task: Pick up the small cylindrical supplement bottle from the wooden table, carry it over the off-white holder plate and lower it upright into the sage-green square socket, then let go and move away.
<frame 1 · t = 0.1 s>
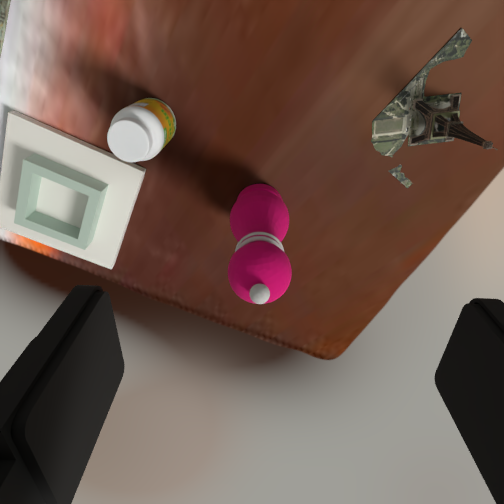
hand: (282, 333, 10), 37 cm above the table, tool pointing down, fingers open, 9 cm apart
pepper mill: (259, 205, 48), on the table
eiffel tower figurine: (429, 115, 42), on the table
supplement bottle: (154, 121, 42), on the table
cup holder: (70, 196, 47), on the table
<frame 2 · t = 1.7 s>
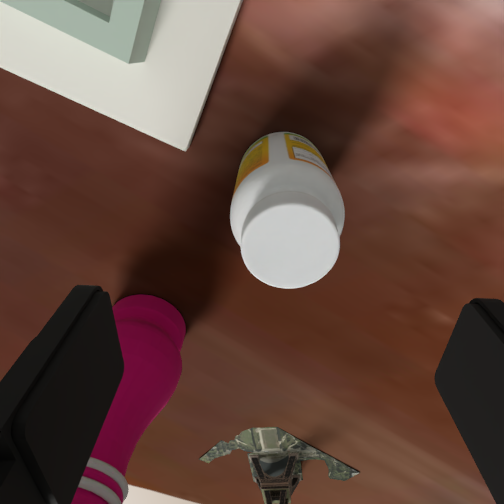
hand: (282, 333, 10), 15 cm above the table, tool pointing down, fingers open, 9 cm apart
pepper mill: (148, 322, 29), on the table
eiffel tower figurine: (279, 459, 39), on the table
supplement bottle: (281, 173, 23), on the table
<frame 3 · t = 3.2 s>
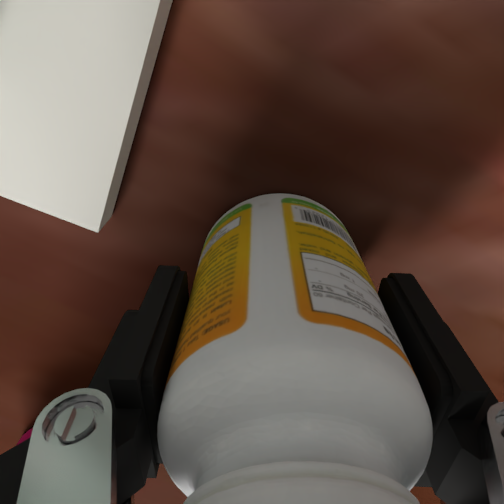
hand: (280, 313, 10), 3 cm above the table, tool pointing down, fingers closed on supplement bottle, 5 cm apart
supplement bottle: (276, 256, 13), on the table, touching gripper
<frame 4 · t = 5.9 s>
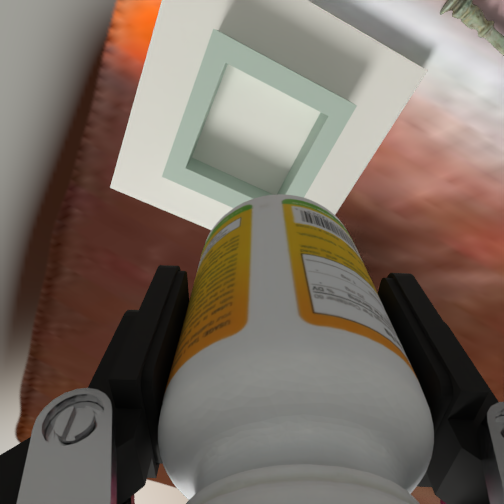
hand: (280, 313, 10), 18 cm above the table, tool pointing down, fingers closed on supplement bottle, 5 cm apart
supplement bottle: (277, 257, 13), point 15 cm above the table, touching gripper
cup holder: (254, 130, 25), on the table
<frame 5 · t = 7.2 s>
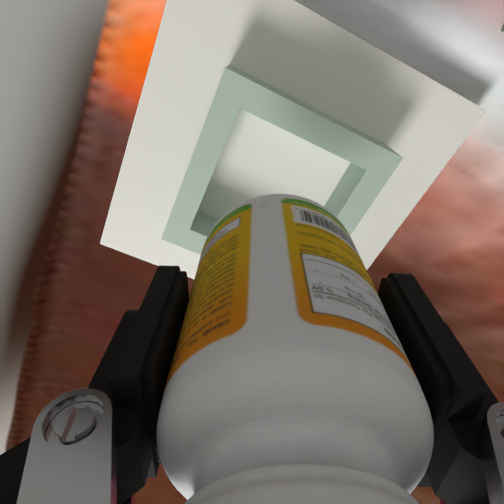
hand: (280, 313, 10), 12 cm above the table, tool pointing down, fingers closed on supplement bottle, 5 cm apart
supplement bottle: (276, 257, 13), point 9 cm above the table, touching gripper
cup holder: (271, 177, 21), on the table
when the fingers open (5 cm above the table, at t = 8.9 s): supplement bottle stays where it is, resting on cup holder.
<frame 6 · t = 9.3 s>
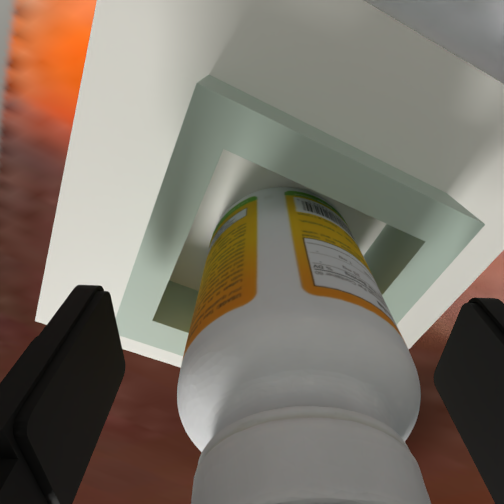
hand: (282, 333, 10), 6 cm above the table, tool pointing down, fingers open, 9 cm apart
supplement bottle: (279, 246, 14), point 1 cm above the table, touching cup holder
cup holder: (274, 232, 15), on the table
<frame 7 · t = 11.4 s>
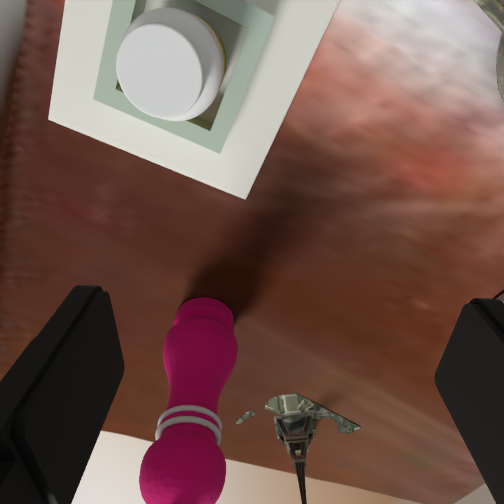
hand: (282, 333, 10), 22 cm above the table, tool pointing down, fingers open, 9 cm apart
pepper mill: (205, 317, 39), on the table
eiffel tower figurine: (297, 419, 50), on the table
supplement bottle: (188, 59, 25), point 1 cm above the table, touching cup holder
cup holder: (187, 56, 26), on the table
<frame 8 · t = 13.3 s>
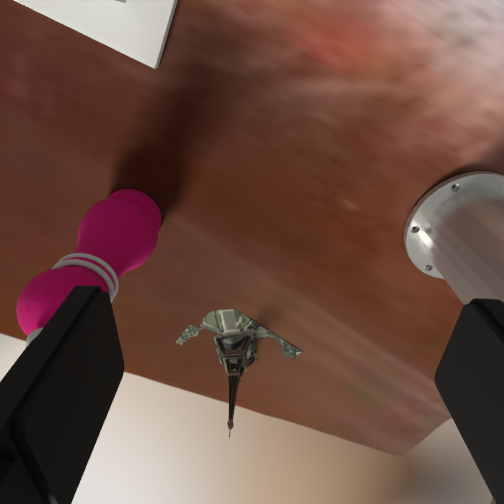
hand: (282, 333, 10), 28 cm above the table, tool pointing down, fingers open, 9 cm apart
pepper mill: (133, 214, 39), on the table
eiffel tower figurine: (239, 343, 50), on the table
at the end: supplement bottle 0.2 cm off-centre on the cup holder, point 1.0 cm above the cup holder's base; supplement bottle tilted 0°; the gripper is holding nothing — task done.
